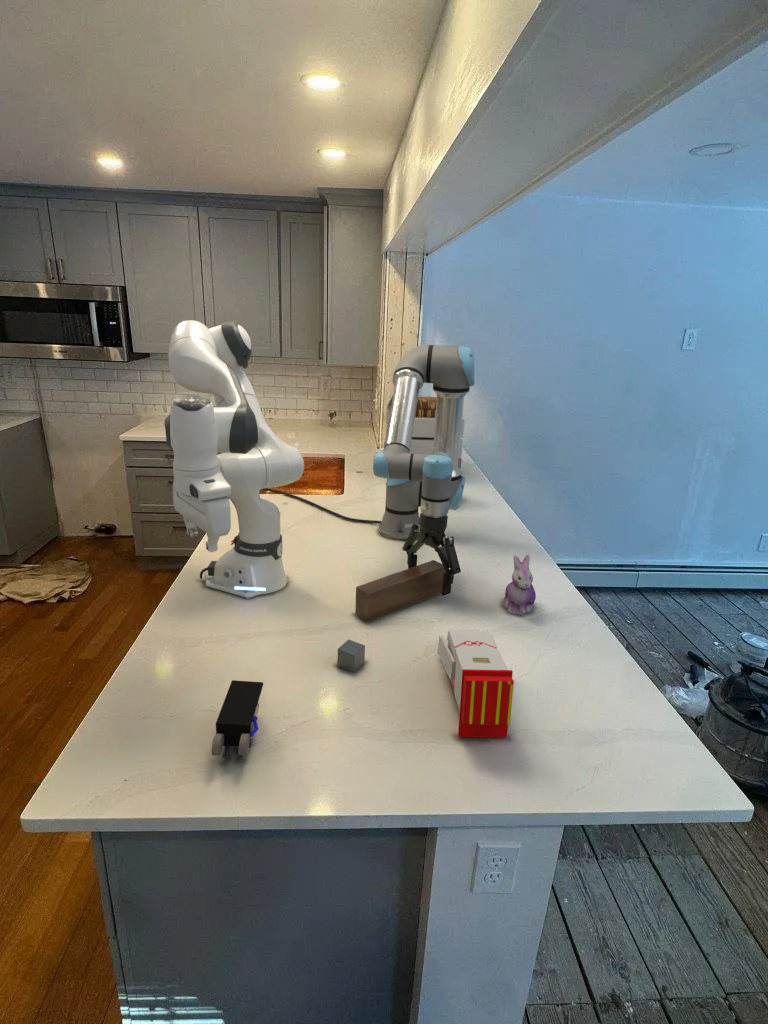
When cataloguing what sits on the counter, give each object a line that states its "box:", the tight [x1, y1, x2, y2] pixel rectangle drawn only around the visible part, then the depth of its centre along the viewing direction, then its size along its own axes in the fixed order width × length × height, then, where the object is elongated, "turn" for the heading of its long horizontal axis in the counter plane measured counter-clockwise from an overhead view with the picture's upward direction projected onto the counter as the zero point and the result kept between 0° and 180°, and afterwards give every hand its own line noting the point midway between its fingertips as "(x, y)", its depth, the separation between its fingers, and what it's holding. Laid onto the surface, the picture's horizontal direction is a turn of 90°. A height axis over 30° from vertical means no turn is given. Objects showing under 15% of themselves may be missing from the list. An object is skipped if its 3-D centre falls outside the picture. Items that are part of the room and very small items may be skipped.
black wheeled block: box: [211, 679, 264, 761], centre depth 102 cm, size 7×8×15 cm
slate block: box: [336, 639, 366, 673], centre depth 125 cm, size 4×4×4 cm
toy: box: [437, 628, 515, 738], centre depth 117 cm, size 12×13×30 cm
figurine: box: [503, 553, 537, 615], centre depth 151 cm, size 9×10×15 cm
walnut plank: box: [354, 559, 446, 623], centre depth 152 cm, size 5×28×8 cm, turn 131°
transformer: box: [383, 395, 465, 471], centre depth 268 cm, size 34×33×41 cm
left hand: (202, 543), depth 118 cm, fingers open, 8 cm apart
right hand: (428, 585), depth 159 cm, fingers open, 13 cm apart
